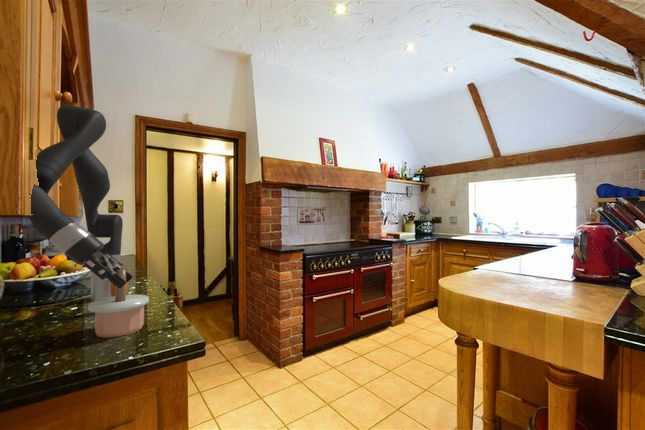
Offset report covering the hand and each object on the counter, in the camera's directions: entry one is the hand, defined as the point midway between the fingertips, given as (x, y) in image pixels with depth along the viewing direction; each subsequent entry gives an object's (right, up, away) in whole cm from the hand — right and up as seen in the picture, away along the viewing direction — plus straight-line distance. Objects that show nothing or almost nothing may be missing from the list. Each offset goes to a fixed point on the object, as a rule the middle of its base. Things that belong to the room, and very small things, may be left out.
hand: (127, 282), depth 82 cm
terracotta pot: (-1, -13, -1) cm, 13 cm away
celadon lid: (-1, -6, -1) cm, 6 cm away
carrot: (-14, -14, +17) cm, 26 cm away
